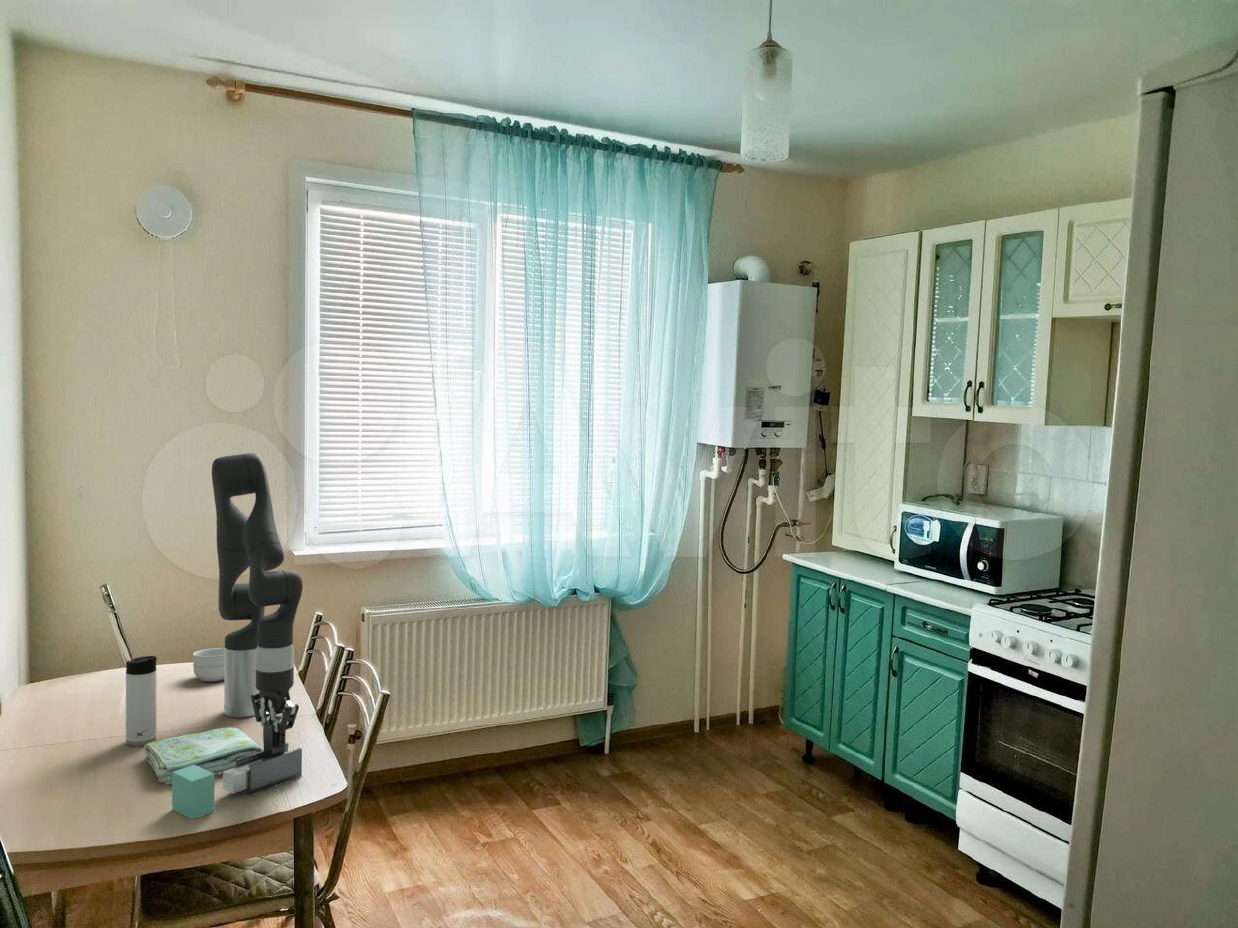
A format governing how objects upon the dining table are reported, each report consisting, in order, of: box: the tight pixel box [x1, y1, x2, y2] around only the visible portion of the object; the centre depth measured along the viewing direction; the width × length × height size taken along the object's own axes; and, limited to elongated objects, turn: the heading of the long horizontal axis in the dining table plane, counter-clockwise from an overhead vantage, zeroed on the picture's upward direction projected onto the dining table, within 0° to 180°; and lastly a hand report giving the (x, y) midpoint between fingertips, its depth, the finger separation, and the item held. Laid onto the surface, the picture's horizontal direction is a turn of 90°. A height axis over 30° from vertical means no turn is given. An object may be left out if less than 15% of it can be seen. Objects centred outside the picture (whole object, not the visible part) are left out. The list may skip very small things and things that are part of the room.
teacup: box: [192, 647, 225, 682], centre depth 254 cm, size 14×11×8 cm
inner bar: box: [222, 720, 285, 794], centre depth 186 cm, size 14×4×11 cm, turn 146°
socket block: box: [171, 765, 215, 820], centre depth 174 cm, size 4×7×8 cm, turn 56°
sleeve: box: [236, 741, 303, 796], centre depth 188 cm, size 12×5×6 cm, turn 146°
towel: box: [143, 727, 263, 785], centre depth 198 cm, size 18×21×5 cm
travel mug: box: [125, 655, 157, 747], centre depth 207 cm, size 6×7×20 cm
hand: (274, 744), depth 189 cm, fingers closed on inner bar, 3 cm apart
